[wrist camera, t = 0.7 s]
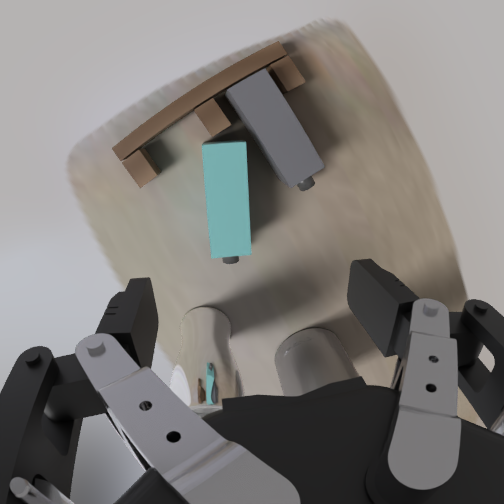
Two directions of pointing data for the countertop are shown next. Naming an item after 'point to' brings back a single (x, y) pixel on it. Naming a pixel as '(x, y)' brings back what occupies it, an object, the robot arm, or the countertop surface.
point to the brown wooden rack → (204, 107)
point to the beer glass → (206, 362)
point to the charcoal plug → (275, 129)
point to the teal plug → (227, 199)
